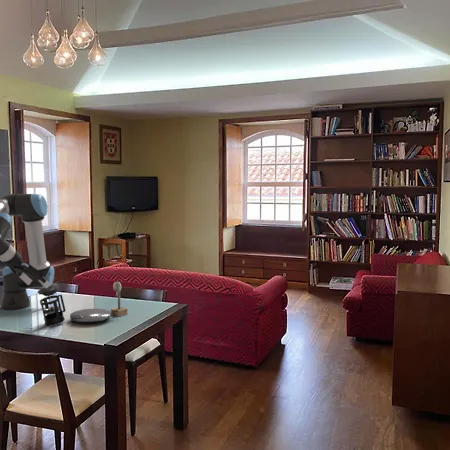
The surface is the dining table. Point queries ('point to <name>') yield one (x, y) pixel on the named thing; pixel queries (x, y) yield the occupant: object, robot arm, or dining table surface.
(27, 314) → the dining table surface
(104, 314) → the disc
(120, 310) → the dial gauge stand
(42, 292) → the french press
